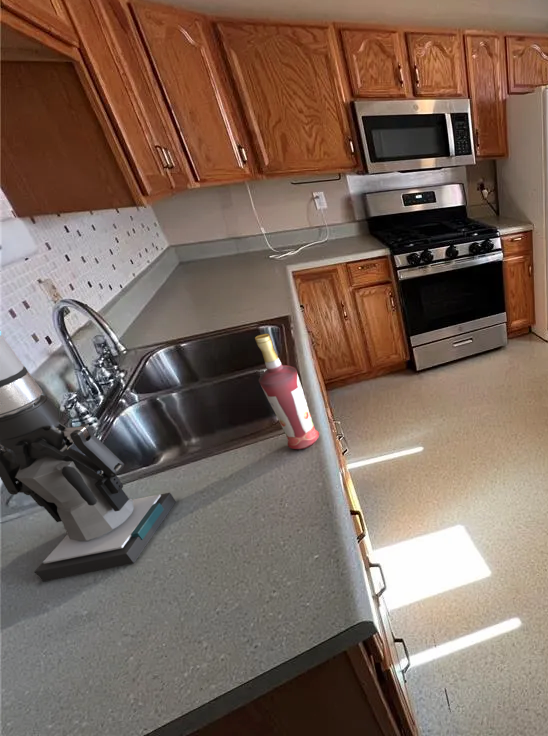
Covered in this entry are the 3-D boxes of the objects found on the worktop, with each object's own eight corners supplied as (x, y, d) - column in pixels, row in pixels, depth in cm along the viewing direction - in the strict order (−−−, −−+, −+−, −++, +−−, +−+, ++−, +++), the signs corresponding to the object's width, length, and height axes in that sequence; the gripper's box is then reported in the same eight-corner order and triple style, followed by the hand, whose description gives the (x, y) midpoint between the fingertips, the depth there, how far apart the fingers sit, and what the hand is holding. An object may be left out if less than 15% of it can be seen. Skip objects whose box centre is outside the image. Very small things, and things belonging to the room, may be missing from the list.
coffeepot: (58, 525, 75) (-8, 450, 67) (121, 490, 82) (68, 417, 74) (88, 562, 68) (18, 482, 59) (154, 519, 75) (100, 442, 66)
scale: (43, 581, 70) (30, 569, 68) (99, 515, 82) (90, 503, 80) (135, 563, 72) (125, 550, 70) (177, 501, 84) (169, 489, 82)
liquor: (323, 445, 96) (282, 337, 83) (289, 458, 93) (241, 348, 80) (319, 429, 102) (281, 325, 88) (287, 440, 99) (242, 335, 86)
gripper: (105, 381, 67) (170, 483, 78) (-45, 404, 65) (43, 506, 75) (70, 408, 61) (146, 514, 71) (-98, 434, 58) (7, 541, 69)
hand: (93, 510), depth 73 cm, fingers closed on coffeepot, 8 cm apart
